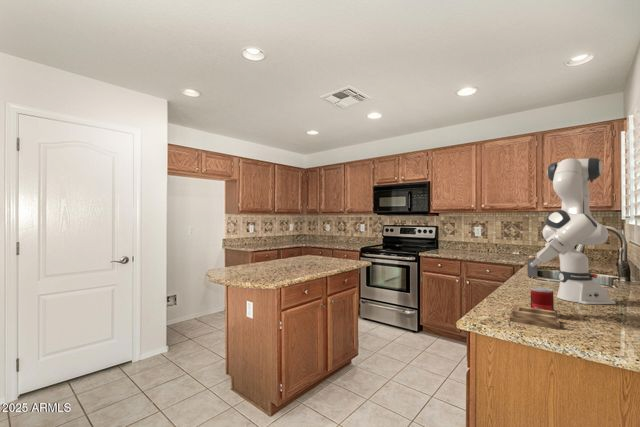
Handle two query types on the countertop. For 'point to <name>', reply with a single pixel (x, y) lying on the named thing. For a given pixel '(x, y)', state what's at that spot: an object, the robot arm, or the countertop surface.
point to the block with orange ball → (532, 270)
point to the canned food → (542, 298)
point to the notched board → (556, 326)
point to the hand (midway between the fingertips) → (530, 265)
